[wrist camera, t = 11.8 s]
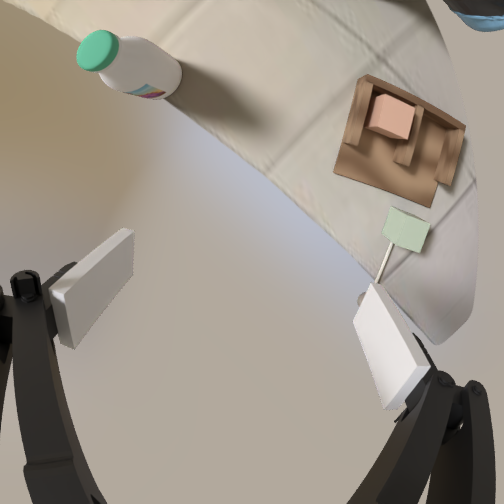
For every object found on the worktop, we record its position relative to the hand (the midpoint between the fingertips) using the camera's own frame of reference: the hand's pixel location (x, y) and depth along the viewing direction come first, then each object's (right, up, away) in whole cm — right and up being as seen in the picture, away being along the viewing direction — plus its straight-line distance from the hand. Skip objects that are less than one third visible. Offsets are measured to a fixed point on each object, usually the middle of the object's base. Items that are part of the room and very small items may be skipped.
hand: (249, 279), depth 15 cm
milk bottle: (-14, +29, +23) cm, 39 cm away
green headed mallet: (+23, 0, +33) cm, 40 cm away
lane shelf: (+24, +19, +25) cm, 39 cm away
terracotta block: (+20, +22, +23) cm, 38 cm away
